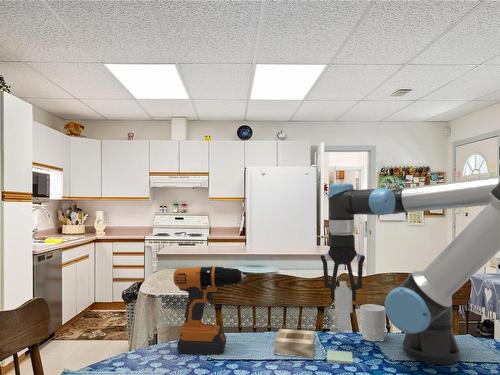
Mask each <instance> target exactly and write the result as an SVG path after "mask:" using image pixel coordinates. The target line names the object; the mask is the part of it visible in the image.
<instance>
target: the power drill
mask: <svg viewBox="0 0 500 375" xmlns="http://www.w3.org/2000/svg"><path fill="white" fill-rule="evenodd" d="M246 277H247V276H246V275H245V274H243V271H241V270H240V269H239V268H230V267H225V268H224V266H214V265H213V266H211V265H210V266H197V267H180V268H176V269H175V271H174V273H173V284H174V286H176V287H178V290H179V291H183V292H186V293H187V294H188V299H187V301H186V305H185V306H186V307H185V312H184V316H185V317H184V318H185V320H184V321H185V322H184V323H183V324H182V325H181V327H180V329H179V333H180V334H179V340H178V341H177V351H178V352H179V353H180V354H186V355H187V354H190V355H211V354H218V355H219V354H222V353H223V352H224V351H225V347H226V344H227V336H226V334H225V332H224V331H223V329H222V328H221V326H220V325H219V324H218V325H217V324H213V323H203V322H202V319H203V316H204V312H205V303H209V302H210V301H212V302H213V301H214V297H213V294H215V293H216V292H217V291H218V287H224V286H230V285H238V284H240V283H242V281H243V280H244V278H246Z"/></svg>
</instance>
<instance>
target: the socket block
mask: <svg viewBox="0 0 500 375" xmlns="http://www.w3.org/2000/svg"><path fill="white" fill-rule="evenodd" d="M315 336H316V335H315V331H314V330H303V329H288V328H279V329H278V332H277V333H276V336H275V338H274V341H273V342H274V344H273V345H274V346H273V347H274V348H273V350H274V352H273V353H280V354H287V355H295V356H302V357H301V358H303V357H309V358H308V359H313V358H314V352H313V351H315V345H314V343H315V340H316V339H315ZM315 344H316V343H315Z"/></svg>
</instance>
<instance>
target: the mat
mask: <svg viewBox="0 0 500 375" xmlns="http://www.w3.org/2000/svg"><path fill="white" fill-rule="evenodd" d="M326 362H327V363H336V364H348V365H354V359H353V352H352V351H343V350H332V349H327V352H326Z"/></svg>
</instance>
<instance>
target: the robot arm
mask: <svg viewBox="0 0 500 375" xmlns="http://www.w3.org/2000/svg"><path fill="white" fill-rule="evenodd" d="M327 199H328V214H329V215H328V217H329V218H328V224H329V225H328V227H329V229H328V231H329V233H331V234H329V249H328V252H326V253H322V254H320V259H321V262H322V269H323V282H324V287H325V288H327V289H329V290H330V299H331V301H334V312H335V313H338V309H337V287H336V284H337V283H336V282H337V277H338V276H337V275H338V272H339V271H338V270H339V265H345V266H346V268H347V273H348V276H349V277H348V278H349V282H350V287H351V288H349V293H350V314H353V302H356V300H357V290H359V289H362V288H363V266H364V262H365V260H366V256H365V255H364V254H360V253H358V252H357V250H356V241H355V239H356V237H355V235H354V233H355V215H358V216H359V215H365V216H366V215H368V216H389V215H398V214H401V213H402V214H406V213H413V212H424V211H426V212H427V211H435V210H450V209H458V208H460V209H462V208H471V207H472V208H474V207H483V206H485V207H484V208H483V209H482V210H481V211H480V212H479V213H478V214H477V215H476V216H475V217H474V218H473V219H472V220H471V221H470V222H469V223H468V224H467V225H466V226H465V228H464V229H462V230H461V232H460V233H459V234H458V235H457V236H455V237H454V239H453V240H451V242H450V243H449V244H448V245H447V246H446V247H445V248H444V249H443V250H442V251H441V252H440V253H439V254H438V255H437V256H436V257H435V258H434V259H433V260H432V261H431V262H430V263H429V265H428V266H426V267H425V269H424V270H414V271H413V272H412V273H409V274H408V275H407V276H408V277H407V278H406V279H405V280H404V281H403V282H402V283H401V284H399V286H398V287H395V288H393V289H391V290H390V291H389V293H388V294H387V295H386V297H385V299H384V307H385V311H386V317H387V318H388V320H389V321H390V323H391V324H392V325H393V326H394V327H395V328H396V329H398V330H399V331H401V332H404V333H405V334H404V337H403V340H402V352H403V351H404V352H405V353H406V354H407V355H409V356H410V357H409V356H408V357H409V358H411V357H412V358H411V359H413V358H414V360H415V361H419V362H422V363H427V364H431V365H432V364H433V365H453V364H456V363H458V362H460V360H461V351H460V348H459V345H458V341H457V339H456V337H455V334H454V331H453V295H454V294H455V293H456V292H457V291H458V290H459V289H461V288H462V286H464V285H465V283H467V282H468V281H469V280H470V279H471V278H472V277H474V275H475V274H476V273H477V272H478V271H479V270H481V269H482V267H484V266H485V265H486V264H487V263H489V261H490V260H491V259H492V258H494V257H495V255H497V254H498V253H499V251H500V174H499V175H493V176H486V177H479V178H472V179H470V178H469V179H462V180H456V181H449V182H447V181H446V182H441V183H432V184H425V185H419V186H410V187H402V188H395V189H390V188H383V187H382V188H379V187H378V188H377V187H376V188H368V189H367V188H366V189H355V188H354V185H353V184H352V183H332V184H330V185H329V187H328V198H327ZM329 257H330V259H331V260H332V261H333V262H334V265H333V269H332V270H333V271H332V278H331V282H329V273H328V272H329V270H328V260H329ZM355 257H356V261H357V281H356V283H355V279H354V278H355V277H354V275H353V274H354V273H353V268H352V262H353V260H354V259H355ZM404 352H403V353H404ZM405 353H404V354H405ZM406 354H405V355H406ZM407 355H406V356H407Z"/></svg>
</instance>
